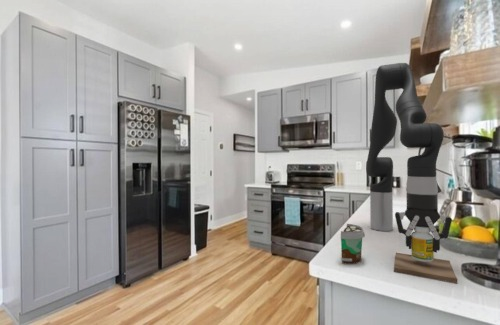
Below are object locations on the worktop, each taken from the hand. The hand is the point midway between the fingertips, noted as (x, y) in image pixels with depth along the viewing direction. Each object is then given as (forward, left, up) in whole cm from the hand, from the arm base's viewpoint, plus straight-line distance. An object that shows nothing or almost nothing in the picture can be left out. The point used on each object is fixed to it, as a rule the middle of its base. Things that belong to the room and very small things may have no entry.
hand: (422, 249), depth 74 cm
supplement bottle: (0, 0, -3) cm, 3 cm away
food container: (+3, -18, -6) cm, 19 cm away
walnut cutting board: (0, 0, -5) cm, 5 cm away
